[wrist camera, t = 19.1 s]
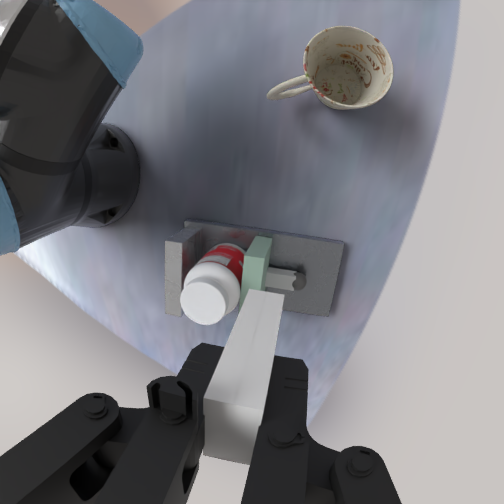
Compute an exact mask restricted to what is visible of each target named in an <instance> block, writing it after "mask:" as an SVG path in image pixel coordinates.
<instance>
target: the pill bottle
mask: <svg viewBox="0 0 504 504" xmlns="http://www.w3.org/2000/svg"><path fill="white" fill-rule="evenodd" d="M245 254H246V252H245V251H244V250H243V249H242V248H240V247H239V246H237V245H234V244H230V243H222V244H218V245H216V246H214V247H213V248H211V249H210V250H209V251H208V252H207V253H206V254H205V255H204V256H203V257H202V259H201V260H200V261H199V262H198V263H197V264H196V265H195V266H194V267H193V268H192V269H191V270H190V271H189V273H188V274H187V276H186V278H185V282H184V289H183V291H182V293H181V297H180V303H181V307H182V309H183V311H184V313H185V314H186V315H187V316H188V317H189V318H190V319H191V320H192V321H194V322H196V323H198V324H202V325H211V324H215V323H217V322H219V321H220V320H221V319H222V318H223V316H225V315H227V314H228V313H230V312H231V311H232V310H233V309H234V308H235V307H236V306H237V304H238V302H239V300H240V293H241V284H242V274H243V264H244V255H245Z"/></svg>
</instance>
